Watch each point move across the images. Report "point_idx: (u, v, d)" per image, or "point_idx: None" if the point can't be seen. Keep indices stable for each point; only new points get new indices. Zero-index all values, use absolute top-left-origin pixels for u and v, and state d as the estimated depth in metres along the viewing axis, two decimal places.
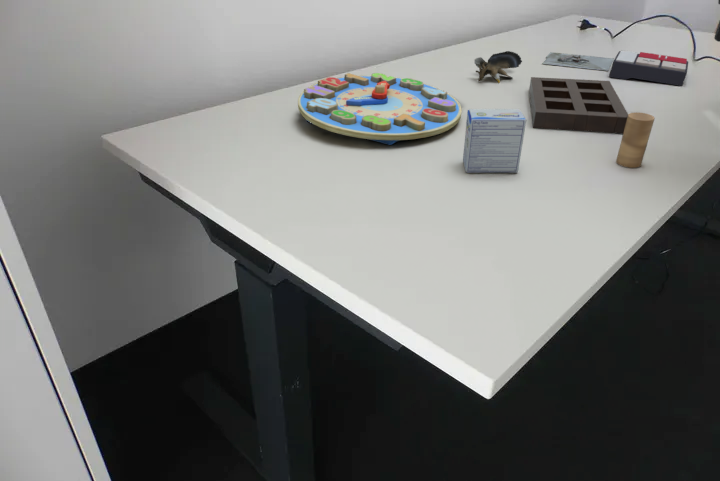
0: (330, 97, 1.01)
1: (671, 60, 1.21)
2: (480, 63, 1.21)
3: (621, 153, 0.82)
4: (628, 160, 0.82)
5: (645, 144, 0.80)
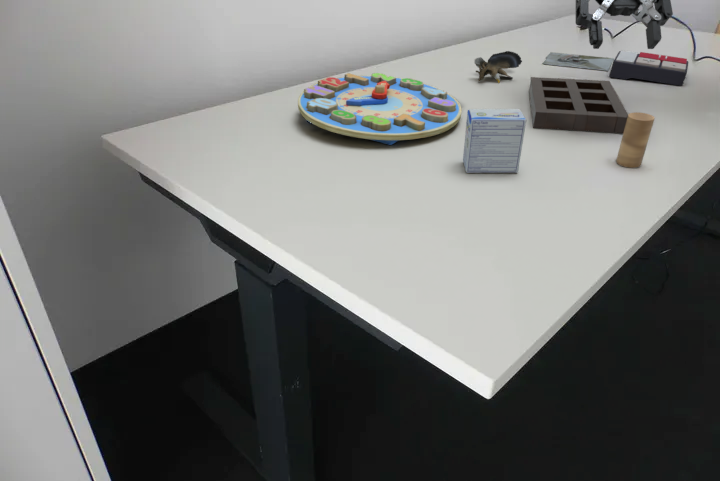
0: (330, 97, 1.01)
1: (671, 60, 1.21)
2: (480, 63, 1.21)
3: (621, 153, 0.82)
4: (628, 160, 0.82)
5: (645, 144, 0.80)
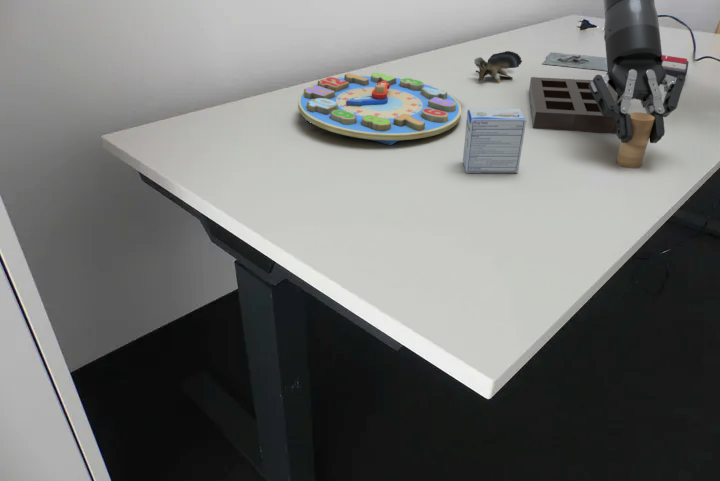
0: (330, 97, 1.01)
1: (671, 60, 1.21)
2: (480, 63, 1.21)
3: (621, 153, 0.82)
4: (629, 160, 0.82)
5: (645, 144, 0.80)
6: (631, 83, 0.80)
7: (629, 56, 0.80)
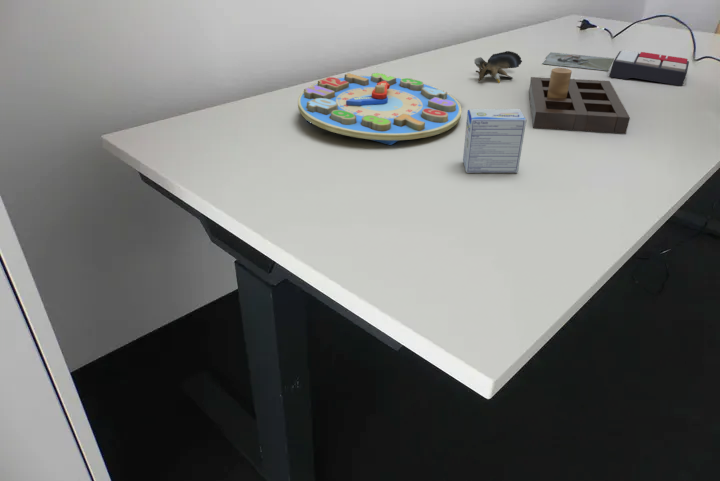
0: (330, 97, 1.01)
1: (671, 60, 1.21)
2: (480, 63, 1.21)
3: None
4: None
5: (565, 92, 1.02)
6: None
7: None
